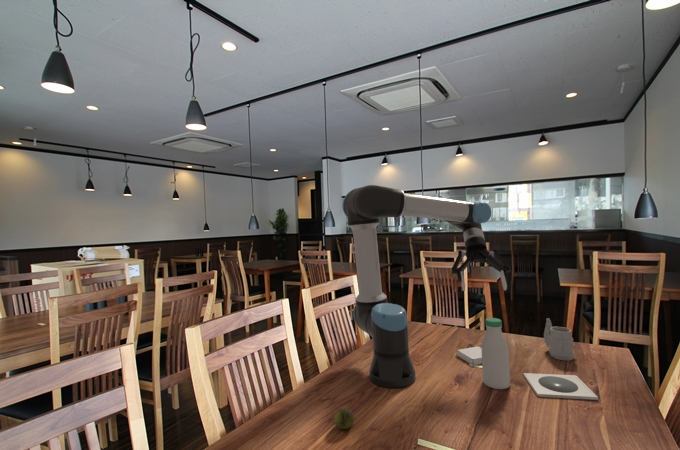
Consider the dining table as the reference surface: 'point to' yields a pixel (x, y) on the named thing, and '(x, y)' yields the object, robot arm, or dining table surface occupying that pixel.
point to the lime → (344, 418)
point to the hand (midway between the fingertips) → (484, 288)
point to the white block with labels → (471, 354)
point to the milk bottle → (495, 356)
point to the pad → (559, 386)
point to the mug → (559, 342)
